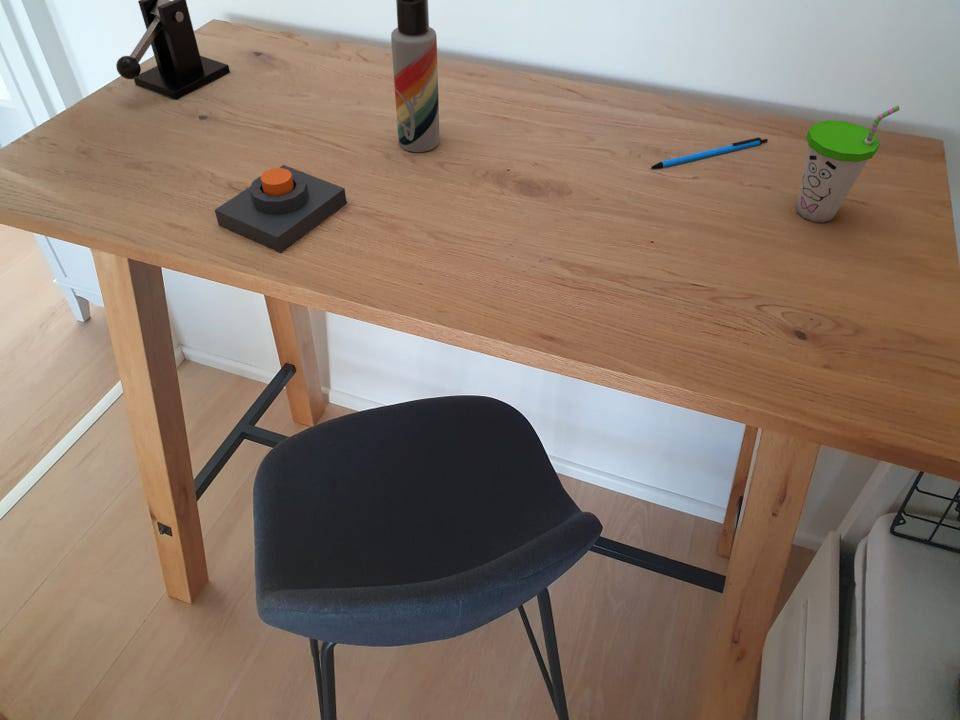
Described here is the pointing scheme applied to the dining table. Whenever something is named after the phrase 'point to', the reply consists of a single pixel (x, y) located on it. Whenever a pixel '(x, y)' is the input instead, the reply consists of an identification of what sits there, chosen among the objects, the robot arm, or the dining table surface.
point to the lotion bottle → (415, 77)
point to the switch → (140, 47)
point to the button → (277, 182)
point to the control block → (281, 210)
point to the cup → (834, 165)
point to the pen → (710, 153)
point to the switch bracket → (176, 53)
